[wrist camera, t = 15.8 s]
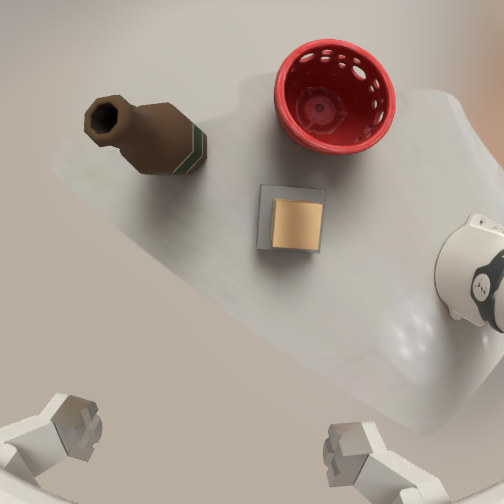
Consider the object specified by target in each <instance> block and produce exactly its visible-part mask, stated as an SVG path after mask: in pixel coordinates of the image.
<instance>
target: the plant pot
mask: <svg viewBox="0 0 504 504" xmlns="http://www.w3.org/2000/svg"><path fill="white" fill-rule="evenodd" d="M324 50H332V51H324ZM311 53H313V55H311V56H309V57H307V58H304V59H301V58H302V57H303V56H304V55H307V54H311ZM340 55H343V56H340ZM344 56H345V57H344ZM321 57H330V58H329V59H321ZM355 58H356V59H358V60H359V61H360V62H359V61H357V60H356V59H355ZM340 63H344V64H345V65H341V64H340ZM353 66H357V67H358V68H360V69H362V70H363V71H364V73H365V75H366V79H363V78H362V77H360V76H359V75H358V74H357V73H356V72H355V71H354V69H353ZM376 80H377V81H378V83H379V87H378V85H377V83H376ZM371 86H372V87H373V89H374V92H373V91H372V89H371ZM375 100H376V101H377V107H376V108H375ZM274 104H275V109H276V113H277V115H278V118H279V120H280V123H281V125H282V127H283V129H284V130H285V132H286V133H287V134H288V135H289V137H291V138H292V139H293V140H294V141H295V142H296V143H298V144H299V145H301V146H303V147H305V148H307V149H309V150H312V151H314V152H317V153H321V154H326V155H348V154H353V153H358V152H361V151H364V150H366V149H368V148H370V147H372V146H373V145H375V144H376V143H377V142H379V140H381V139H382V138H383V136H384V135H385V134H386V132H387V131H388V129H389V128H390V126H391V123H392V121H393V118H394V113H395V104H396V103H395V94H394V89H393V85H392V83H391V81H390V78H389V76H388V74H387V72H386V71H385V69H384V68H383V66H382V65H381V64H380V63H379V62H378V61H377V60H376V59H375V58H374V57H373V56H372V55H371V54H369V53H368V52H367V51H365V50H363V49H362V48H360V47H358V46H356V45H354V44H351V43H349V42H346V41H342V40H335V39H321V40H315V41H312V42H308V43H306V44H303V45H302V46H300V47H298V48H297V49H295V50H294V51H293V52H292V53H291V54H290V55H289V56H288V57H287V58H286V59H285V60H284V62H283V63H282V65H281V67H280V69H279V71H278V74H277V77H276V81H275V87H274ZM382 112H383V117H382V119H381V121H380V122H379V118H380V115H381V113H382ZM378 122H379V123H378ZM369 130H370V131H369ZM368 131H369V132H368Z"/></svg>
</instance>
